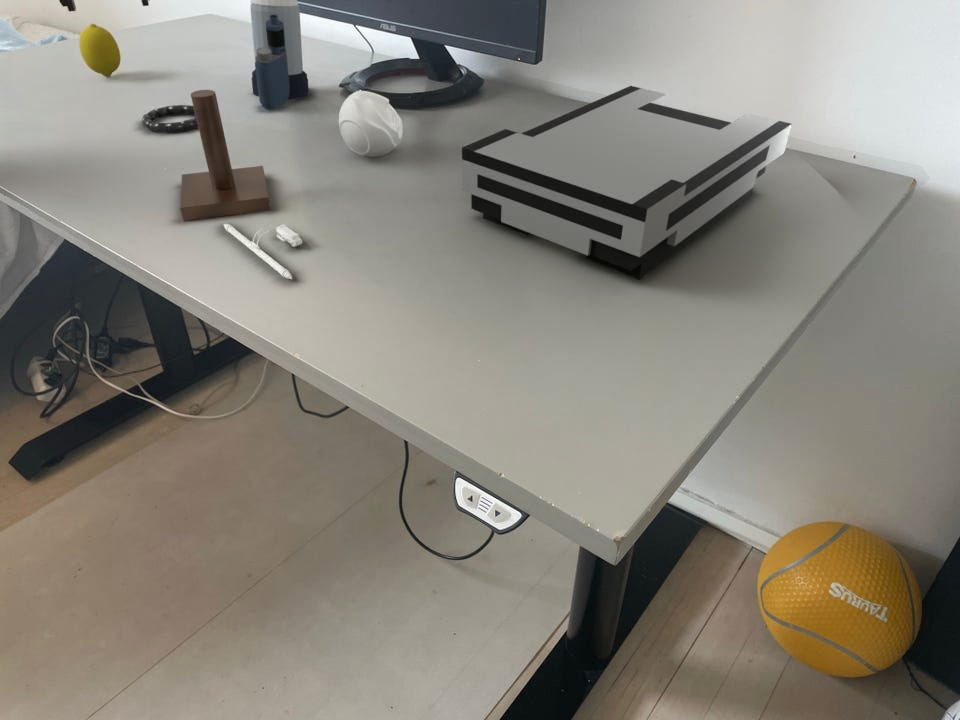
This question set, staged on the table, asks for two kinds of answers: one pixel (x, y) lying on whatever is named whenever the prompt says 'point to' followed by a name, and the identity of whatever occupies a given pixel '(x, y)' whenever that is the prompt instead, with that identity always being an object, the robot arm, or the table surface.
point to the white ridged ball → (369, 124)
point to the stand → (219, 172)
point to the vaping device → (273, 67)
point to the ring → (169, 127)
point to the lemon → (99, 50)
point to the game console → (621, 176)
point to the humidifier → (286, 8)
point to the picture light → (284, 235)
